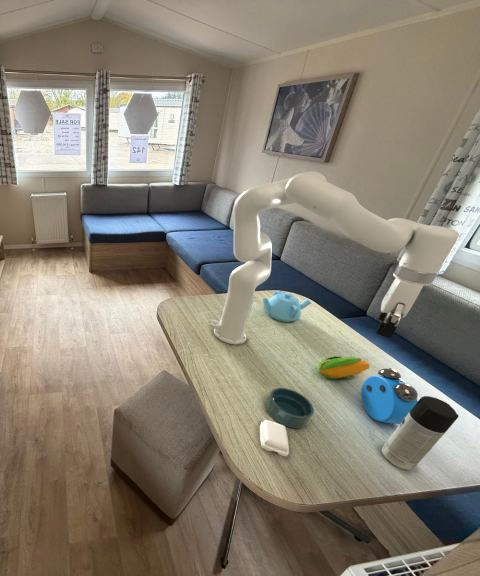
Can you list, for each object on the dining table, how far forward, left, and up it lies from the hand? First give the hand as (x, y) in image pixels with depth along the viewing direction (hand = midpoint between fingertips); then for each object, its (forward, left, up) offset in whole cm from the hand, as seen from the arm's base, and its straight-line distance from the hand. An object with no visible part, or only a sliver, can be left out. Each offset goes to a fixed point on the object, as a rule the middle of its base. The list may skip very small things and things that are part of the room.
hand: (383, 328), depth 88 cm
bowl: (-15, -20, -27) cm, 37 cm away
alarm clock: (+8, -4, -27) cm, 28 cm away
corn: (-1, +11, -27) cm, 29 cm away
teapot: (-23, +42, -27) cm, 55 cm away
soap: (-17, -32, -27) cm, 45 cm away
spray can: (+11, -19, -27) cm, 35 cm away
